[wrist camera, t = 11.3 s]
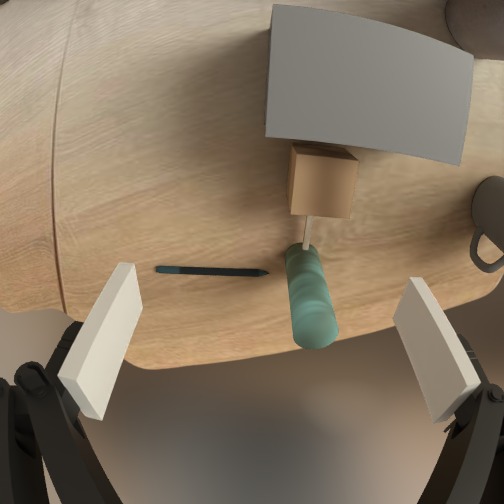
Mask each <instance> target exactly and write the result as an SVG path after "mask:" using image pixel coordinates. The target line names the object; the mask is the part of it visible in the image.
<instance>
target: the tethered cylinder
mask: <svg viewBox="0 0 504 504" xmlns="http://www.w3.org/2000/svg"><path fill="white" fill-rule="evenodd" d="M358 167H359V160H358V159H356V158H355V157H354V156H353V155H352V154H350V153H349V152H348V151H347V150H346V149H344V148H338V147H330V146H321V145H312V144H302V143H291V146H290V158H289V169H288V180H287V190H286V195H287V200H288V204H289V209H290V214H293V215H307V216H306V224H305V231H304V238H303V243H298V244H295V245H293V246H291V247H290V248H289V249H288V250H287V252H286V254H285V264H286V272H287V281H288V291H289V300H290V309H291V319H292V329H293V338H294V341H295V343H296V344H297V345H299V346H300V347H302V348H305V349H320V348H323V347H325V346H328V345H329V344H331V343H332V342H333V341H334V340H335V339H336V338H337V336H338V332H339V330H338V325H337V321H336V317H335V313H334V310H333V306H332V302H331V298H330V295H329V291H328V287H327V284H326V280H325V277H324V273H323V270H322V266H321V263H320V259H319V256H318V252H317V250H316V249H315V248H314V247H313V246H312V245H310V244H309V242H310V236H311V229H312V222H313V216H320V217H333V218H345V219H350V213H351V208H352V203H353V197H354V192H355V186H356V180H357V174H358Z"/></svg>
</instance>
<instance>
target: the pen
mask: <svg viewBox="0 0 504 504" xmlns="http://www.w3.org/2000/svg"><path fill="white" fill-rule="evenodd" d="M156 272H159V273H171V274H194V275H221V276H252V277H259V276H263V275H267V274H269V273H267V272H266V271H262V270H259V269H232V268H202V267H176V266H157V267H156Z"/></svg>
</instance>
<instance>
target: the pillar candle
mask: <svg viewBox="0 0 504 504" xmlns="http://www.w3.org/2000/svg"><path fill="white" fill-rule="evenodd" d="M445 17H446V22H447V25H448V28H449V30H450V32H451V34H452V36H453V38H454V39H455V41H456V42H457V44H458V45H459V46H460V47H461V48H462V49H463V50H464V51H465V52H468V53H470V54H472V55H474V57H476V58H480V59H490V60H502V61H504V0H448V2H447V5H446V9H445Z"/></svg>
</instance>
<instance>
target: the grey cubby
mask: <svg viewBox="0 0 504 504" xmlns="http://www.w3.org/2000/svg"><path fill="white" fill-rule="evenodd" d="M473 66H474V55H472V54H470V53H468V52H465V51H463V50H461V49H458V48H456V47H454V46H451V45H449V44H446V43H444V42H441V41H439V40H436V39H434V38H431V37H428V36H425V35H422V34H420V33H417V32H414V31H411V30H407V29H404V28H401V27H398V26H394V25H391V24H387V23H384V22H380V21H376V20H372V19H368V18H363V17H359V16H354V15H350V14H345V13H339V12H334V11H328V10H322V9H315V8H308V7H299V6H290V5H278V4H273V9H272V16H271V23H270V31H269V49H268V66H267V83H266V100H265V117H264V125H266V129H265V137H274V138H287V139H299V140H309V141H318V142H327V143H335V144H343V145H351V146H358V147H364V148H371V149H377V150H383V151H389V152H394V153H400V154H405V155H410V156H415V157H420V158H425V159H429V160H434V161H438V162H443V163H447V164H451V165H455V166H460V161H461V157H462V152H463V146H464V141H465V135H466V129H467V123H468V116H469V108H470V100H471V91H472V80H473Z"/></svg>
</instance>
